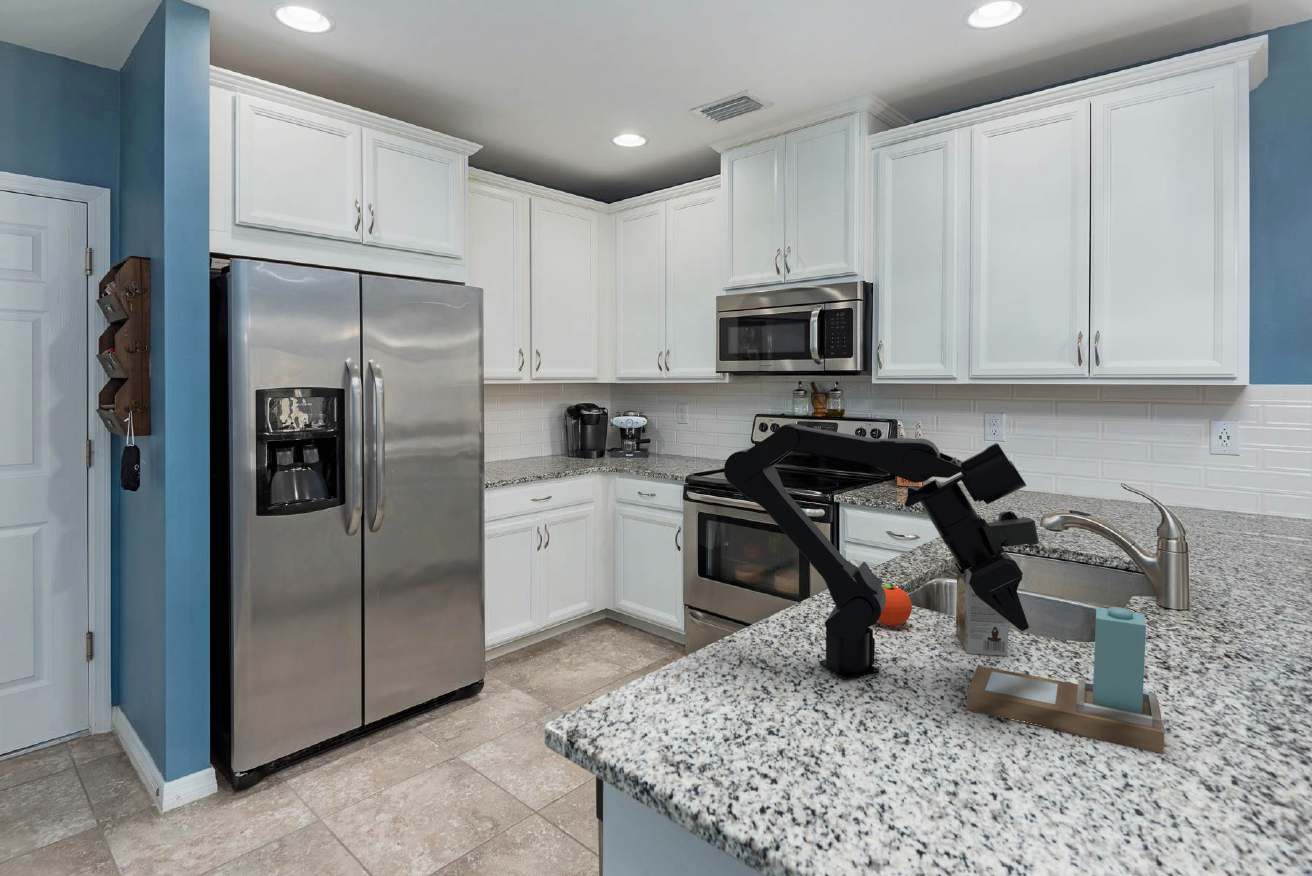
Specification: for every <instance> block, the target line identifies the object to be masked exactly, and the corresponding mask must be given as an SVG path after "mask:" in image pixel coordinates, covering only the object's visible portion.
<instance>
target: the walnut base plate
mask: <svg viewBox="0 0 1312 876" xmlns="http://www.w3.org/2000/svg"><path fill="white" fill-rule="evenodd" d="M966 711H969V712H975V713H979V714H983V713H984V714H983V715H988V716H993V717H996V716H1000V717H999V718H1001V717H1003V718H1002V719H1005V718H1010V719H1014V720H1019V721H1025V722H1028V723H1032V724H1037V725H1041V726H1045V727H1044V728H1046V727H1047V729H1050V728H1051V729H1050V730H1055V729H1057V730H1056V731H1059V730H1060V732H1064V733H1067V734H1068V733H1069V734H1074V735H1078V736H1082V737H1087V738H1092V739H1095V740H1101V741H1105V742H1109V743H1114V744H1118V745H1122V746H1123V745H1124V746H1127V747H1132V748H1136V749H1141V750H1145V751H1148V752H1149V751H1150V752H1155V753H1159V754H1164V749H1165V748H1164V743H1165V730H1164V723H1163V719H1162V715H1161V708H1160V702H1159V699H1158V697H1157V693H1154V692H1148V691H1144V690H1143V706H1142V714H1138V713H1133V712H1128V711H1123V710H1118V709H1113V708H1108V707H1103V706H1098V705H1093V681H1090V680H1084V679H1078V680H1077V683H1073V682H1068V681H1063V680H1057V679H1052V678H1046V677H1042V676H1041V677H1040V676H1036V675H1030V674H1025V673H1020V672H1014V671H1010V670H1004V669H999V668H994V667H988V666H983V665H977V668H976V669H975V672H974V674H973V676H972V679H971V682H970V684H969V686H968V688H967V691H966ZM1010 719H1009V720H1010ZM1014 720H1013V721H1014ZM1019 721H1018V722H1019ZM1028 723H1027V724H1028ZM1032 724H1031V725H1032ZM1037 725H1036V726H1037ZM1041 726H1040V727H1041Z"/></svg>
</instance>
